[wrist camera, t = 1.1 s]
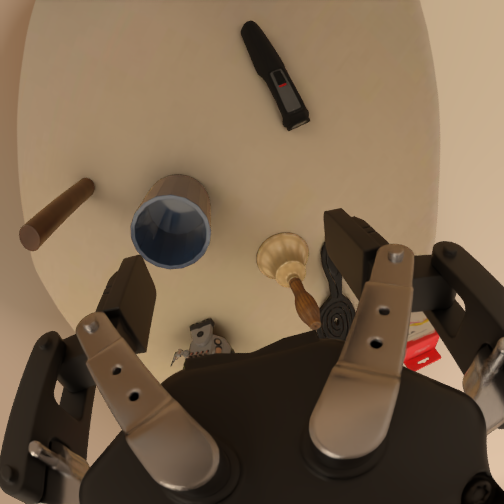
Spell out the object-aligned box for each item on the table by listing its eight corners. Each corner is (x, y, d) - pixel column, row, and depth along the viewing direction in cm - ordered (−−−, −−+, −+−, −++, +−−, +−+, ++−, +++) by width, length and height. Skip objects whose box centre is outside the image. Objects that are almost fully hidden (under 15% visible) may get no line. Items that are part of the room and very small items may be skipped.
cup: (133, 208, 37) (115, 236, 30) (176, 160, 35) (166, 177, 27) (180, 246, 41) (174, 282, 34) (224, 204, 39) (228, 232, 31)
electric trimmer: (259, 22, 27) (263, 15, 25) (309, 121, 35) (318, 123, 32) (232, 32, 28) (234, 26, 25) (285, 132, 35) (291, 134, 32)
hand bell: (261, 230, 42) (287, 298, 28) (313, 234, 44) (358, 299, 30) (252, 277, 46) (271, 353, 32) (301, 279, 47) (334, 350, 34)
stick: (74, 188, 34) (15, 239, 21) (84, 174, 34) (24, 219, 20) (88, 200, 36) (34, 256, 22) (98, 186, 35) (44, 237, 21)
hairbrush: (357, 240, 42) (361, 347, 53) (348, 231, 45) (354, 336, 57) (307, 256, 42) (323, 361, 53) (300, 245, 45) (318, 348, 57)
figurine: (163, 333, 49) (155, 402, 37) (219, 314, 49) (224, 385, 36) (187, 361, 54) (186, 425, 41) (239, 345, 53) (249, 411, 40)
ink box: (412, 297, 55) (449, 343, 42) (409, 313, 57) (442, 358, 44) (380, 309, 55) (414, 360, 42) (378, 325, 57) (409, 375, 44)
